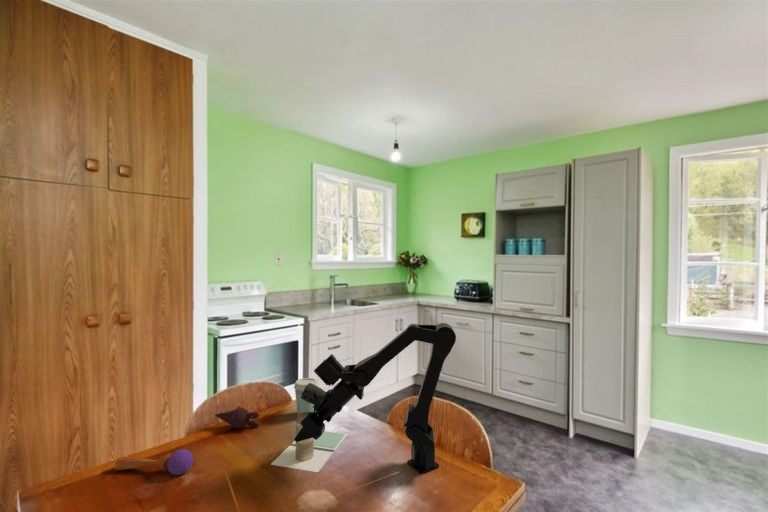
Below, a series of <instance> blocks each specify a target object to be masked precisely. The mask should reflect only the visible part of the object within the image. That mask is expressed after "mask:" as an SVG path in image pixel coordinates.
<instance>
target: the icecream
mask: <svg viewBox="0 0 768 512" xmlns="http://www.w3.org/2000/svg"><path fill="white" fill-rule="evenodd" d="M259 413H260V412H259V411H251V412H249V410H248V409H246V408H245V407H240V406H238V407H236V408H235V409H232V410H228V411H224V412H220V413H219V412H218V413H216V414H215V416H214V417H217V418H218V419H220V420H222V421H223V422H225V423H227V424H229V425H230V428H231V429H232V430H234V429H242V428H244V427H247V426H249V427H250V428H255V429H256V428H259V426H260V423H259V422H258V421H256V420H255V419H258V418H260V414H259Z"/></svg>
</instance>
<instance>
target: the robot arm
mask: <svg viewBox="0 0 768 512" xmlns="http://www.w3.org/2000/svg"><path fill="white" fill-rule="evenodd" d="M456 339H457V336H456V333H455V331H454V329H453V327H452V326H451V325H450V324H448V323H445V322H442V323H438V324H417V323H410V324H409V325H407V327H406V328H405V329H404V330H402V331H401V333H399V334H398V335H397V336H395V337H394V338H393V339H392V340H390V341H389V342H388V343H386V345H385V346H383V347H382V348H380V350H379V351H377V352H375V353H374V354H371V355H369V356H367V357H365V358H363V359H361V360H360V361H359V362H357V363H355V364H347V365H345V366H343V365H342V364H341V363H340V361H339V360H338V359H337V358H336V356H335V355H334V354H332V353H331V354H330V355H329V356H328V357H327V358H325V359H323V361H321V363H320V364H319V365H317V367H316V368H315V369H314V370H313V372H314V373H315V374H316V375H317V377H318V378H319V379H320V380H321V381H322V382H323V383H324V384H325V385H326V386H328V387H330V386H333V388H331V389H330V388H329V389H328V390H327V391H325V390H324V389H322V388H321V387H319V386H318V387H317V386H315V385H314V384H312V383H309V384H308V385H307V386H306V387H305V389H304V391H303V392H302V395H301V399H303V400H305V401H307V402H309V403H312V404H314V406H313V408H314V412H309V413H308V414H307V415H306V416H305V417H304V418H303V419H302V421H301V425H302V426H303V427H302V429H301V430H300V431H299V433H298V434H297V436H296V435H295V437H294V441H296V442H299V441H302V440H306V439H310V438H314V439H315V440H317V439H318V438H319V437H320V436H321V435H322V434H323V432H324V431H326V430H325V429H326V424H325V423H324V422H327V423H330V421H331V420H332V419H333V417H334V416H335V415H336V414H337V413H340V412H341V411H342V409H343V408H344V407H345V406H346V405H347V404H348V403H349V402H350V401H351V400H352V399H354V397H355V396H356V397H357V398H358V400H361V401H362V400H363V397H364V396H365V395H364V390H365V388H366V387H367V386H368V385H370V383H372V381H373V380H374V379H375V377H376V376H377V375H378V374H379V373H380V371H381V370H382V369H383V367H385V366H386V365H387V364H388V363H389V362H391V361H392V360H394V358H396V357H397V356H398V355H399V354H400V353H401V352H403V351H404V350H405V349H407V348H408V347H409V346H410V345H411V344H412V343H413V342H415V341H417V342H418V341H419V342H423V343H427V344H431V352H430V356H429V360H428V363H427V366H426V369H425V372H424V375H423V378H422V382H421V385H420V389H419V390H418V391H419V392H418V395H417V398H416V400H415V402H414V404H413V405H412V404H411V403H408V404H407V405H408V407H407V408H408V409H407V412H406V413H405V415H404V421H403V427H404V428H405V429H404V430H405V431H404V432H405V436H406V437H407V438H408V439H409V441H411V451H410V452H411V456H410V457H411V458H410V459H408V460H407V461H406V463H407V464H409V465H410V467H412V468H413V469H414V470H416V471H417V472H418V473H419V474H424V473H427V472H429V471H431V470H434V469H437V468H440V464H439V463H438V462H436V445H435V433H434V428H433V427H432V426H431V424H429V418H430V417H429V416H430V407H431V404H432V401H433V399H434V395H435V392H436V389H437V387H438V382H439V378H440V375H441V373H442V370H443V365H444V363H445V361H446V359H447V357H448V356H449V354H450V353H451V351H452V349H453V348H454V345H455V344H456V341H457V340H456ZM338 381H339V382H338ZM337 382H338V383H337ZM336 383H337V384H336ZM335 384H336V385H335ZM334 385H335V386H334Z"/></svg>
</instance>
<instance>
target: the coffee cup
mask: <svg viewBox="0 0 768 512" xmlns="http://www.w3.org/2000/svg"><path fill="white" fill-rule="evenodd" d="M309 383H312V384H314V385H315V386H317V387H319V384H318V381H317V379H315V378H311V377H303V378H299V379H297V380H296V381H295V383H294V387H293V388H294V391H295V392H294V394H295V400H296V401H295V404H296V413H297V416H298V415H299V414H300V413H302V412H304V411H307V412H314V408H313V406H314V404H312V403H309V402H307V401H305V400H303V399H301V395H302V392H303V391H304V389H305V387H306V386H307V385H308V384H309Z"/></svg>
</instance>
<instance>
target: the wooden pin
mask: <svg viewBox="0 0 768 512" xmlns="http://www.w3.org/2000/svg"><path fill="white" fill-rule="evenodd" d="M308 413H309V412H307V411H304V412H302V413H300V414H299V415H298V414H297V417H296V420H295V437H296V436H297V434H298V433H299V431H300V430H301V429H302V427H303V426H302V425H301V421H302V419H303V418H304V417H305V416H306V415H307V414H308ZM313 455H314V438H310V439H306V440H302V441H299V442H296V459H297V460H299V461H307V460H310V459H312V458H313Z"/></svg>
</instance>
